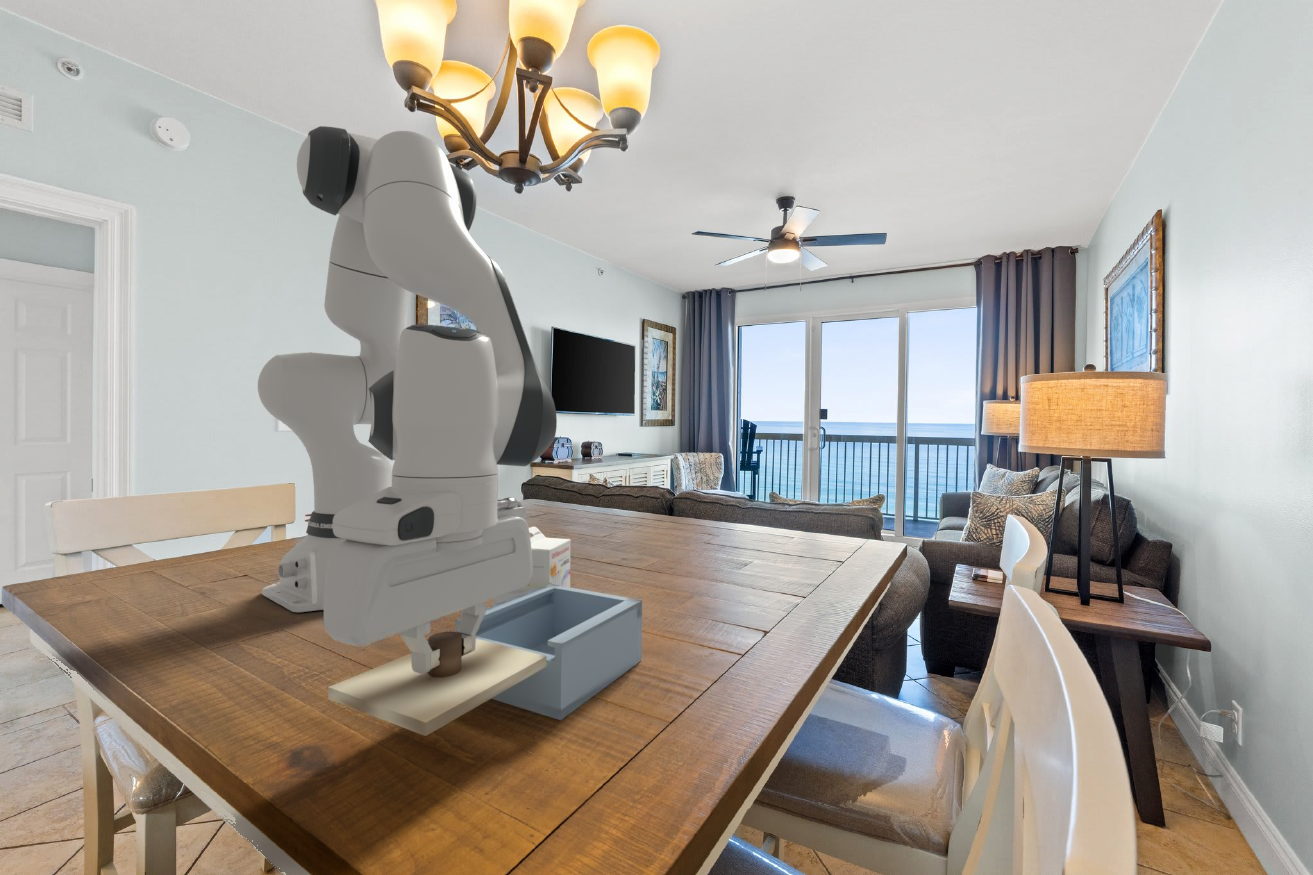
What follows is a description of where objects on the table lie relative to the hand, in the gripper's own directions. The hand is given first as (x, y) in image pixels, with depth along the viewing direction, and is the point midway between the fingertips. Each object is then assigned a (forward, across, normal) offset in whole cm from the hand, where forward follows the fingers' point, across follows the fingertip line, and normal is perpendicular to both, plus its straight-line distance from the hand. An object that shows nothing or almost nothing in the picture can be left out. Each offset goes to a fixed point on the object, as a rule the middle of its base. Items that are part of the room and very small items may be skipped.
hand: (444, 661), depth 51 cm
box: (+7, -16, 0) cm, 17 cm away
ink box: (+7, -28, -13) cm, 32 cm away
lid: (+2, 0, 0) cm, 2 cm away
